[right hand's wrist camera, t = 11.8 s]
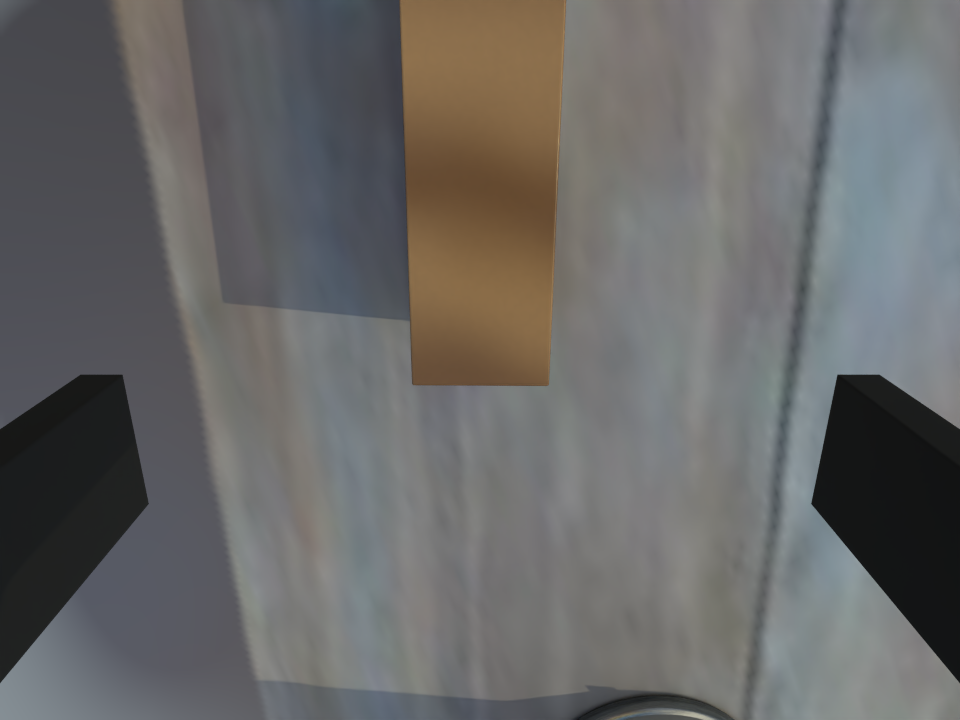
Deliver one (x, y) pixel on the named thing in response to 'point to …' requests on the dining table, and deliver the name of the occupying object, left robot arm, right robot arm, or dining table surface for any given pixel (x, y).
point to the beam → (481, 186)
